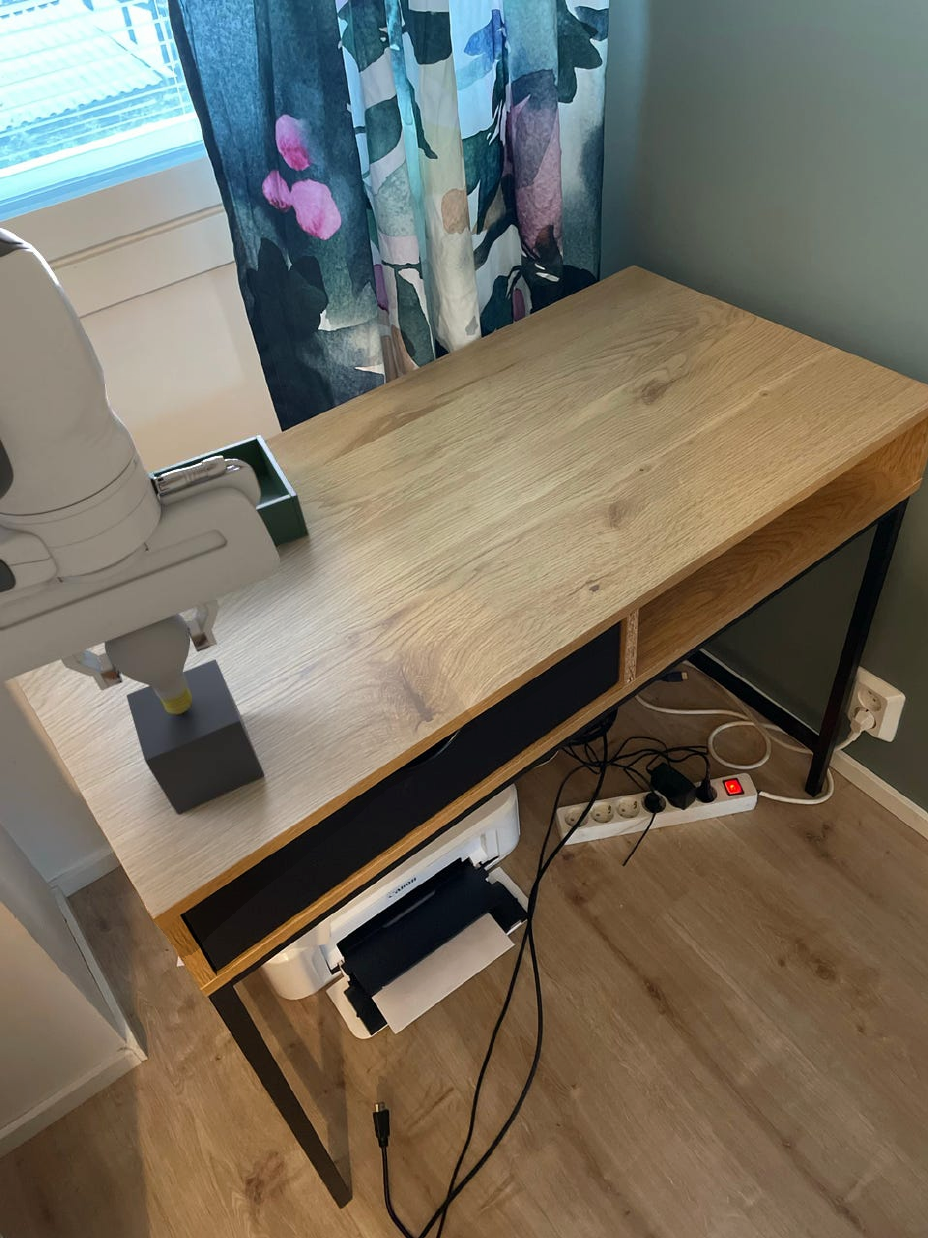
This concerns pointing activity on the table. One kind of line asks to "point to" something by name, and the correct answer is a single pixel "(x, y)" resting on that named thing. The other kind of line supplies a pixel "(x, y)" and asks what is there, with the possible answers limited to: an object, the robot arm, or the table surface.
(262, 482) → the green open square box
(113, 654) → the light bulb
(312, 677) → the table surface
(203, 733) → the block
